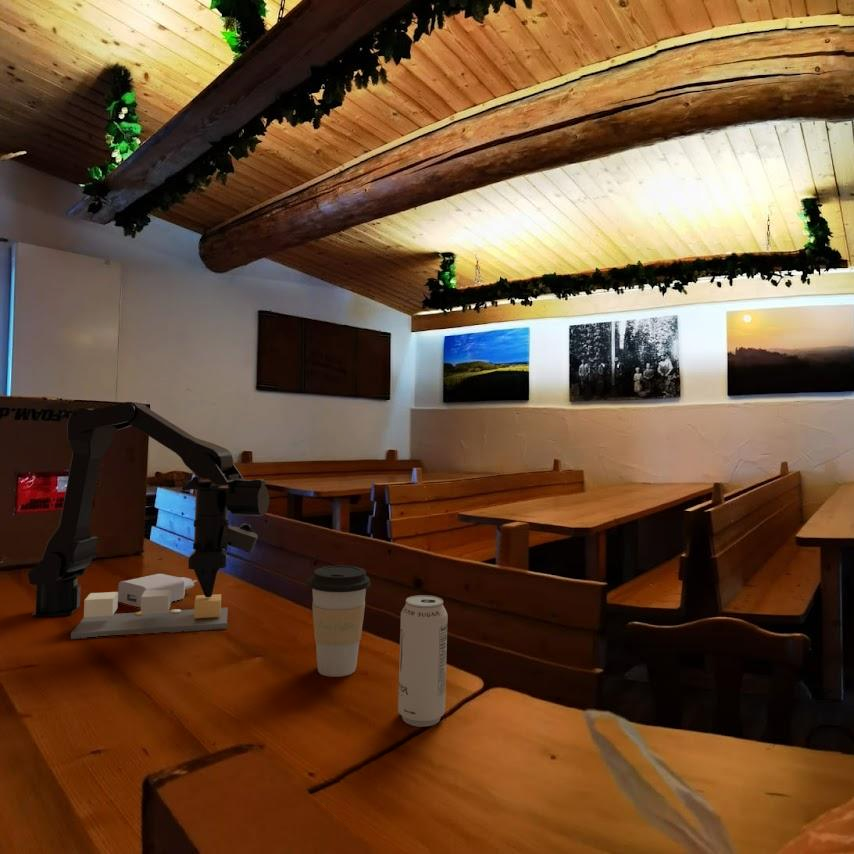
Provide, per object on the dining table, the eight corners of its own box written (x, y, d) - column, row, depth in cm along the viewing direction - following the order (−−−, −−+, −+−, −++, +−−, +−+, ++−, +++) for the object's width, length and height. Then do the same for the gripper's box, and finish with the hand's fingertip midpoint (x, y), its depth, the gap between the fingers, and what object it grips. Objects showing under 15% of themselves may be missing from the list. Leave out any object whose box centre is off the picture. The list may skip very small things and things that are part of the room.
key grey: (140, 613, 106) (141, 597, 106) (144, 606, 110) (144, 590, 111) (167, 612, 108) (168, 595, 108) (170, 605, 112) (171, 589, 112)
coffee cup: (316, 686, 85) (319, 580, 85) (298, 662, 93) (301, 566, 93) (377, 675, 89) (380, 575, 89) (355, 654, 97) (357, 562, 98)
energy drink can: (399, 705, 79) (402, 593, 80) (444, 707, 79) (447, 594, 79) (395, 727, 73) (399, 606, 74) (444, 730, 73) (448, 608, 73)
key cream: (83, 617, 103) (84, 599, 104) (89, 609, 108) (90, 593, 108) (112, 615, 105) (113, 598, 105) (117, 608, 109) (118, 591, 109)
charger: (207, 594, 131) (145, 611, 118) (179, 588, 135) (117, 603, 122) (208, 573, 131) (146, 587, 118) (180, 567, 135) (118, 580, 122)
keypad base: (70, 639, 100) (71, 632, 100) (85, 621, 110) (85, 614, 110) (226, 628, 108) (226, 622, 108) (227, 612, 118) (227, 606, 118)
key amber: (194, 618, 109) (194, 602, 109) (195, 611, 113) (196, 595, 113) (220, 616, 110) (220, 600, 110) (220, 609, 115) (221, 594, 115)
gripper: (256, 520, 105) (254, 608, 105) (254, 507, 123) (252, 582, 123) (189, 521, 102) (186, 612, 102) (197, 507, 120) (194, 585, 120)
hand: (208, 596), depth 112 cm, fingers closed
